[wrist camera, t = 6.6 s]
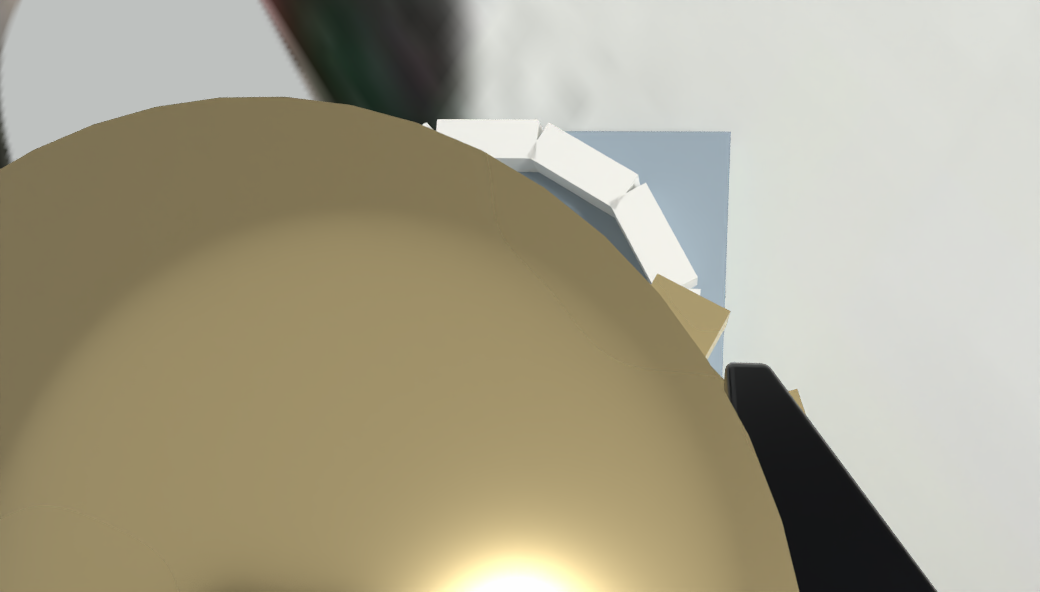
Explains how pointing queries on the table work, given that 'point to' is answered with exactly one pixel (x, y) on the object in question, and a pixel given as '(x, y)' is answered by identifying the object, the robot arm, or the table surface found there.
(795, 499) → the robot arm
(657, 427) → the brass gear
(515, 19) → the table surface
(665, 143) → the gear board
